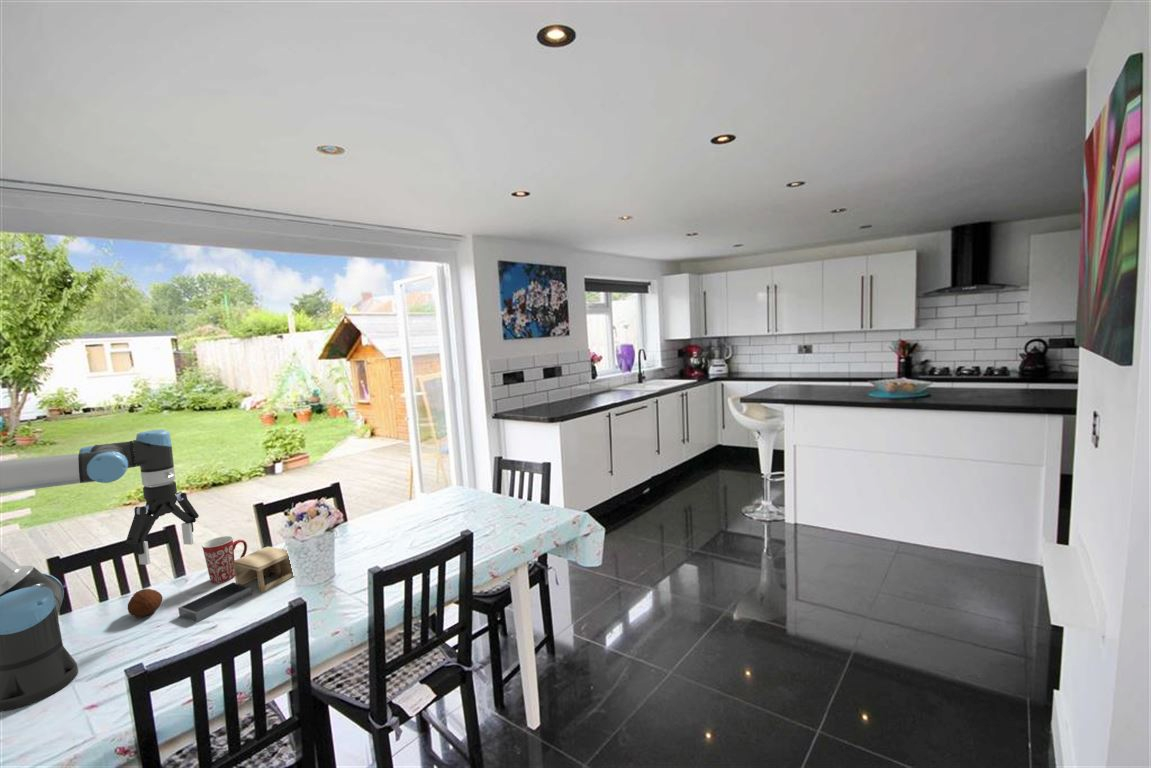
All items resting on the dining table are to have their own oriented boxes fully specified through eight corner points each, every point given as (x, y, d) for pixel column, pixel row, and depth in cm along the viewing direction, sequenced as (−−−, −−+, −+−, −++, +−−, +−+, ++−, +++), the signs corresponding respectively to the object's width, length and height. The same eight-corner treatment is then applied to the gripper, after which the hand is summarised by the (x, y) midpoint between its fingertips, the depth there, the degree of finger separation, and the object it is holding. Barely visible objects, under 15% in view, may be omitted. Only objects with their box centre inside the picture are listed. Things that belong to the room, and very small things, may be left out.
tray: (197, 623, 149) (195, 613, 149) (179, 617, 153) (178, 607, 153) (251, 596, 164) (250, 587, 163) (234, 591, 167) (233, 582, 167)
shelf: (261, 593, 164) (258, 567, 163) (236, 585, 170) (232, 561, 169) (295, 575, 175) (292, 551, 174) (270, 569, 181) (267, 546, 180)
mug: (208, 588, 170) (202, 549, 168) (205, 578, 177) (200, 541, 175) (252, 574, 178) (247, 537, 176) (248, 566, 185) (243, 530, 183)
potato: (156, 601, 163) (153, 579, 162) (170, 610, 157) (167, 587, 156) (122, 615, 155) (118, 592, 155) (136, 625, 150) (132, 601, 149)
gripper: (126, 497, 135) (135, 573, 137) (207, 471, 160) (214, 536, 162) (102, 497, 136) (112, 572, 139) (187, 471, 161) (194, 536, 163)
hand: (167, 553), depth 150 cm, fingers open, 13 cm apart
